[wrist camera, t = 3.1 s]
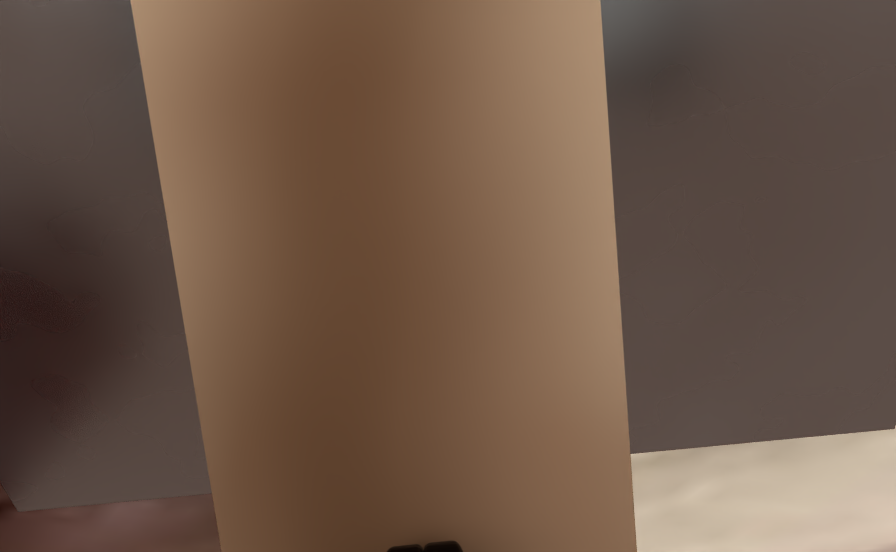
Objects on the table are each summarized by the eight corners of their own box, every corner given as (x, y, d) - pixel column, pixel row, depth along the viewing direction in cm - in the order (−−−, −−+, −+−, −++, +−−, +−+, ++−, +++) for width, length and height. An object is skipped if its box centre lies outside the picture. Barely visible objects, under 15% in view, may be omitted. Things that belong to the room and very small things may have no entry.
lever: (539, -520, 9) (562, -686, 7) (628, 724, 12) (659, 829, 10) (103, -466, 9) (16, -616, 7) (292, 752, 12) (263, 863, 10)
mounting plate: (1221, -845, 8) (1798, -1271, 5) (872, 398, 18) (979, 549, 15) (-588, -612, 9) (-1244, -848, 5) (35, 478, 19) (-51, 643, 15)
